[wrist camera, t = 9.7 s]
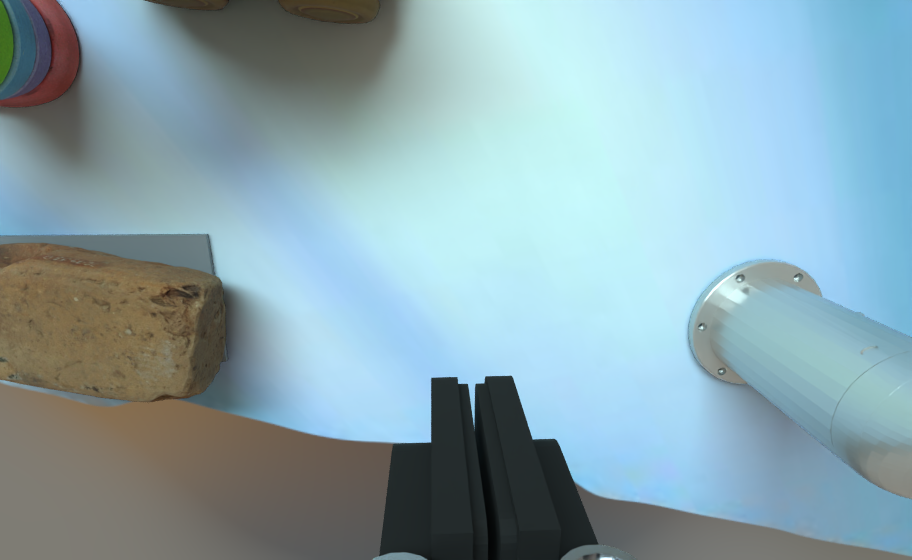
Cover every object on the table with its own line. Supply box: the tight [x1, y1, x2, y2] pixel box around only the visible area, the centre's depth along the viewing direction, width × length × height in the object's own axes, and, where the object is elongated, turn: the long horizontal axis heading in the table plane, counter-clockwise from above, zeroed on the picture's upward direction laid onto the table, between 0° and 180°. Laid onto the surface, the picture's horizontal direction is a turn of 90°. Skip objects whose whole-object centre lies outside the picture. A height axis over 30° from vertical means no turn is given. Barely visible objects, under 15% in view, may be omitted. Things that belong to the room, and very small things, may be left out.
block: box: [0, 243, 226, 402], centre depth 39 cm, size 11×8×20 cm
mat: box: [0, 234, 228, 362], centre depth 42 cm, size 18×12×1 cm, turn 90°
